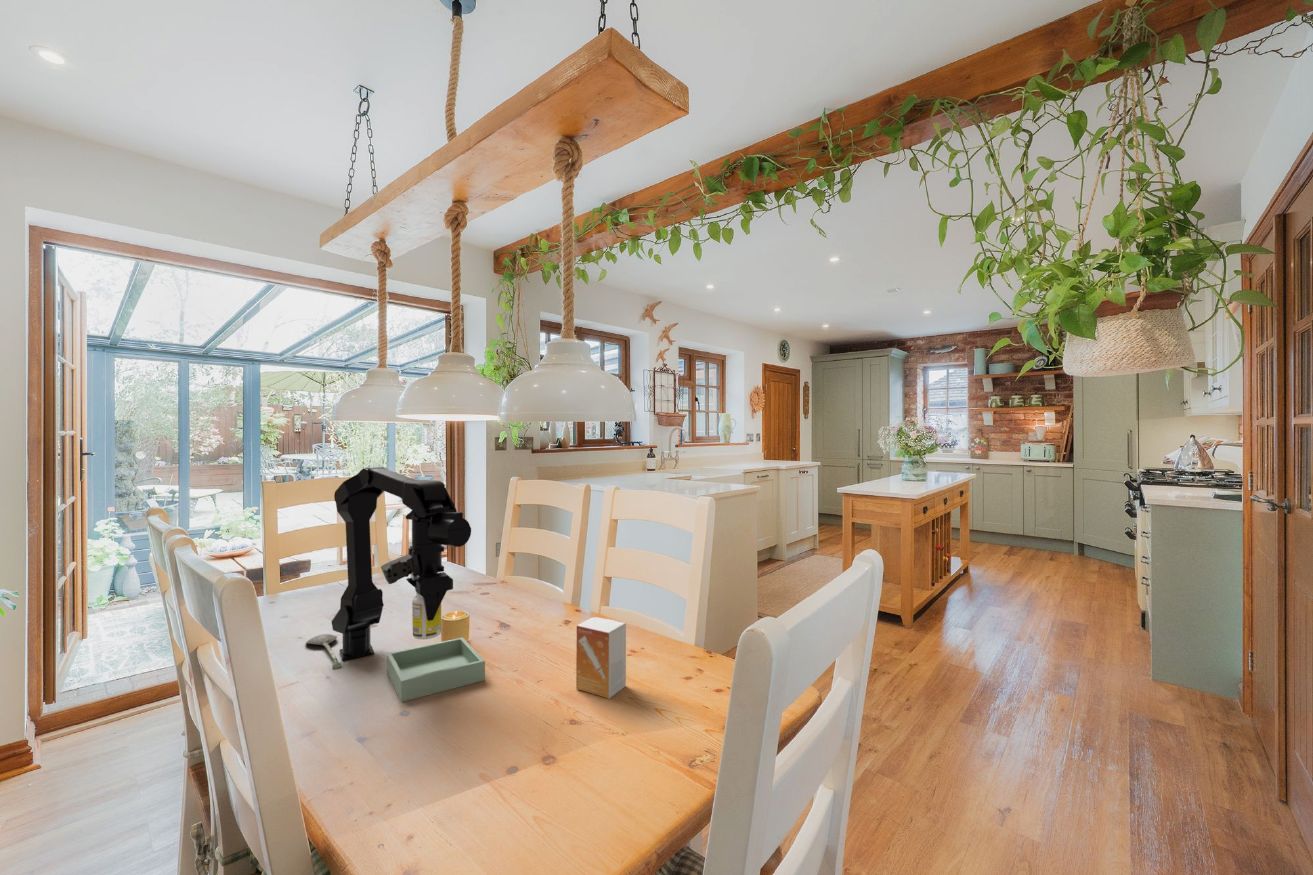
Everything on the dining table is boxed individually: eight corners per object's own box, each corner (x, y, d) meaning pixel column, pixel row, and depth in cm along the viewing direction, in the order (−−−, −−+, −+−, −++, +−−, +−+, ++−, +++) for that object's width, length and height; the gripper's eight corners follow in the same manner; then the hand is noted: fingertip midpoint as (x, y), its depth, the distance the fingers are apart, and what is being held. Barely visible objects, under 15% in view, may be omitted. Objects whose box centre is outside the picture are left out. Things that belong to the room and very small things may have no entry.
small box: (575, 690, 109) (575, 625, 109) (594, 677, 115) (594, 615, 115) (609, 699, 105) (609, 632, 105) (626, 686, 111) (626, 622, 111)
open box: (386, 671, 117) (386, 653, 117) (462, 654, 127) (462, 637, 127) (401, 701, 104) (401, 681, 104) (484, 680, 114) (484, 660, 113)
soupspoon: (334, 640, 138) (304, 648, 134) (333, 627, 138) (303, 634, 134) (353, 665, 121) (319, 675, 117) (352, 650, 121) (318, 659, 117)
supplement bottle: (444, 630, 117) (444, 582, 117) (436, 640, 112) (436, 590, 112) (417, 631, 117) (417, 583, 117) (408, 641, 111) (408, 590, 111)
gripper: (377, 538, 117) (377, 611, 117) (391, 554, 102) (392, 638, 102) (432, 533, 124) (432, 602, 124) (453, 547, 108) (453, 626, 108)
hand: (427, 616), depth 114 cm, fingers closed on supplement bottle, 5 cm apart
